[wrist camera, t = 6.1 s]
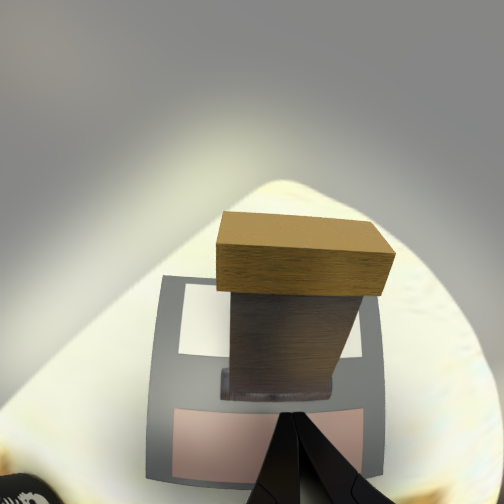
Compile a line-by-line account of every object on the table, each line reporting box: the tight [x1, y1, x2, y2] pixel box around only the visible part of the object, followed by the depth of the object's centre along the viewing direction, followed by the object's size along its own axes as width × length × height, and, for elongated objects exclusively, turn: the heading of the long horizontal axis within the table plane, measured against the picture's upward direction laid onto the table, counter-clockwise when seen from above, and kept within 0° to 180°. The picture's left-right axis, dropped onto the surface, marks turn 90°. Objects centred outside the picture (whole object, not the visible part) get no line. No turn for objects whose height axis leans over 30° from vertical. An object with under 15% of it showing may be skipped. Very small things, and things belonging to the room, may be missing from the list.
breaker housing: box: [146, 275, 385, 490], centre depth 16 cm, size 12×13×5 cm
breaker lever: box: [216, 211, 396, 402], centre depth 11 cm, size 2×5×9 cm
